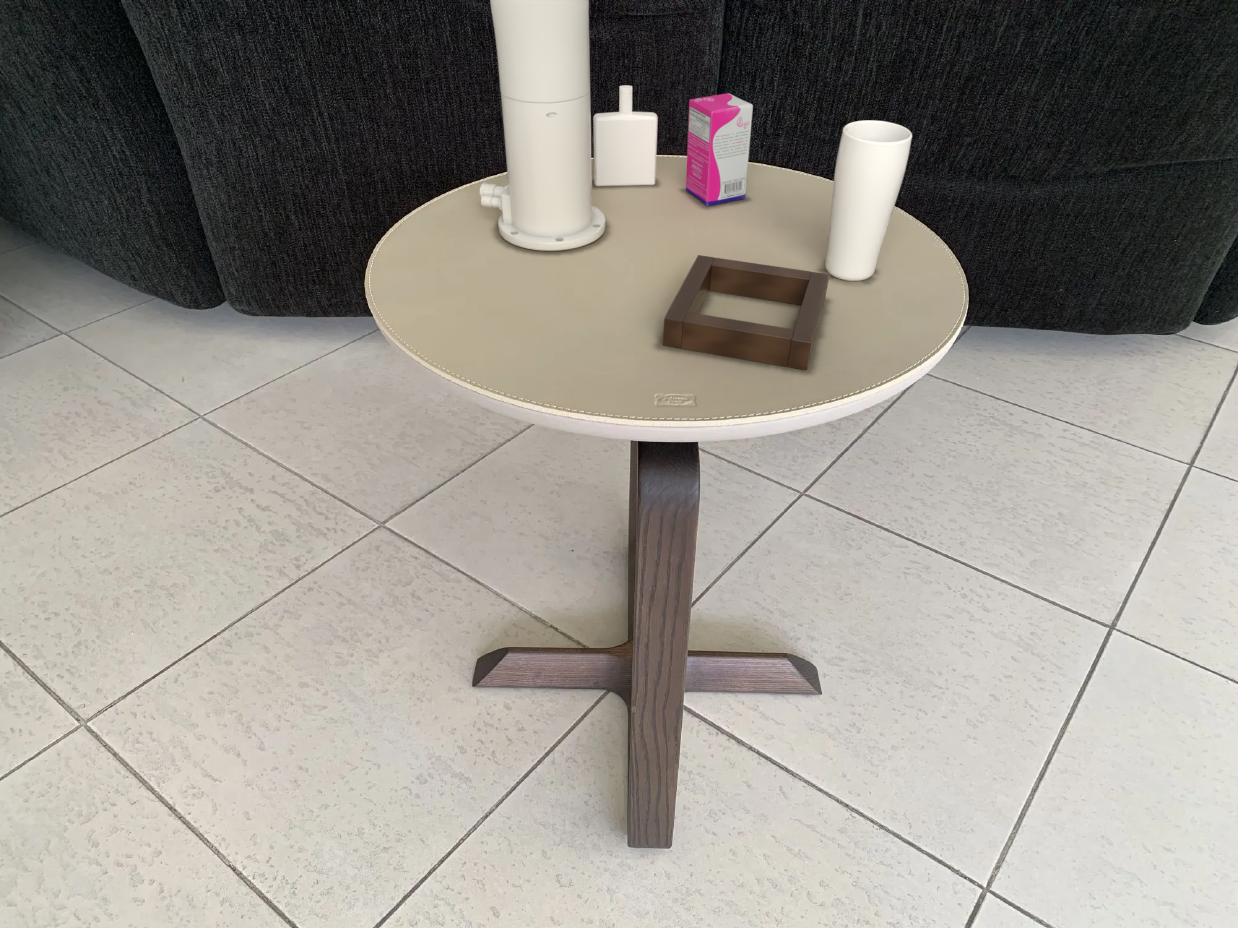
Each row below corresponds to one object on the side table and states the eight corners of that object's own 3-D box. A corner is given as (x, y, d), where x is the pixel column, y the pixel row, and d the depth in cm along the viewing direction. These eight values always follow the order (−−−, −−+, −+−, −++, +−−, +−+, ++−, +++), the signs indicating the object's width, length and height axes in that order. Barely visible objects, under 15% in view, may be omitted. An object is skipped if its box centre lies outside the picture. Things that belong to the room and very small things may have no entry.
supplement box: (721, 183, 109) (729, 91, 102) (746, 199, 105) (756, 105, 98) (683, 190, 108) (688, 97, 100) (706, 207, 103) (713, 112, 96)
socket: (662, 345, 79) (663, 318, 77) (696, 280, 89) (698, 254, 87) (806, 370, 76) (811, 342, 74) (824, 300, 86) (829, 274, 84)
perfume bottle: (654, 179, 110) (657, 83, 102) (656, 185, 109) (659, 88, 101) (593, 181, 110) (592, 85, 102) (594, 187, 108) (593, 89, 100)
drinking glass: (835, 252, 94) (861, 115, 85) (891, 270, 91) (925, 129, 81) (806, 273, 90) (829, 132, 81) (863, 293, 87) (894, 148, 77)
